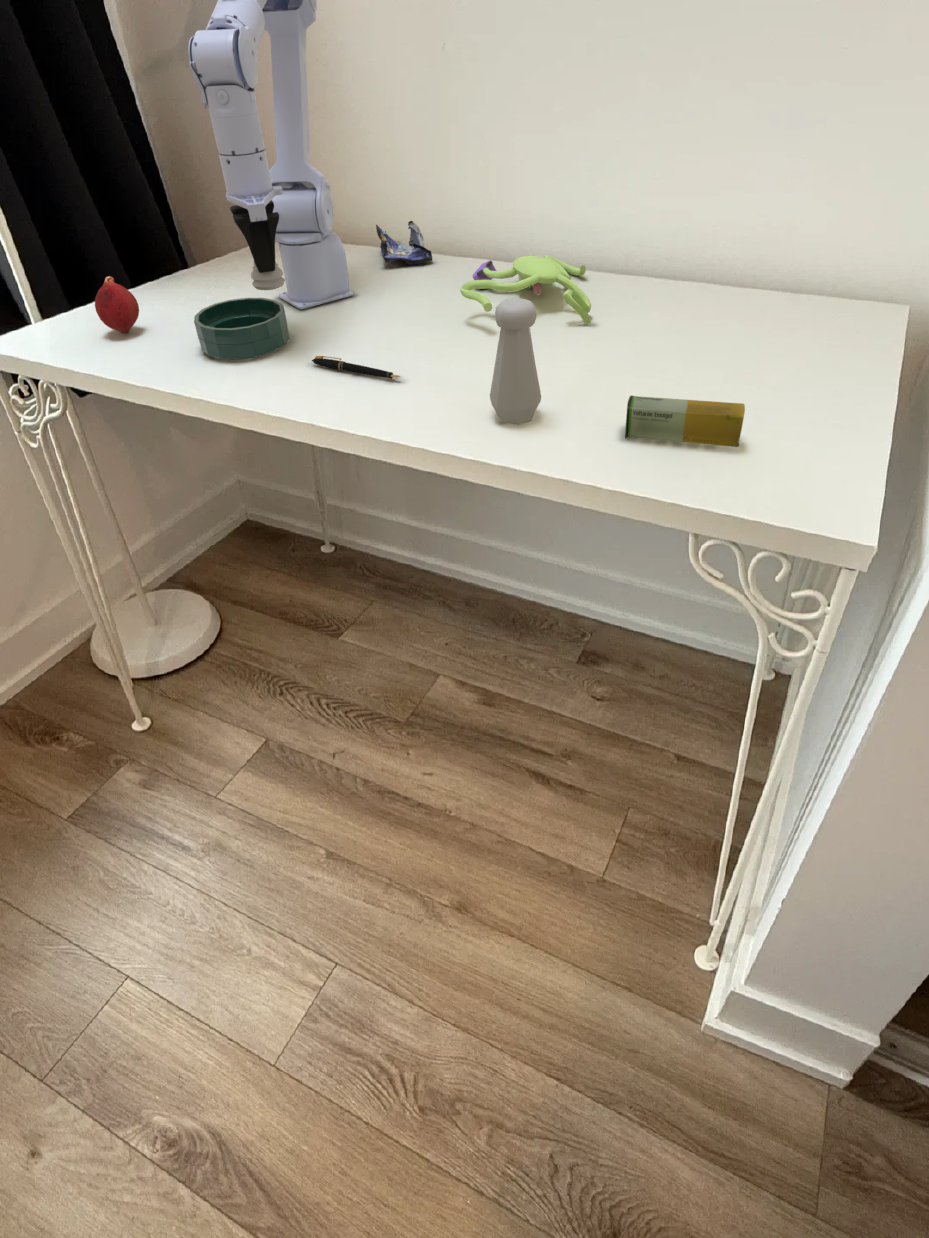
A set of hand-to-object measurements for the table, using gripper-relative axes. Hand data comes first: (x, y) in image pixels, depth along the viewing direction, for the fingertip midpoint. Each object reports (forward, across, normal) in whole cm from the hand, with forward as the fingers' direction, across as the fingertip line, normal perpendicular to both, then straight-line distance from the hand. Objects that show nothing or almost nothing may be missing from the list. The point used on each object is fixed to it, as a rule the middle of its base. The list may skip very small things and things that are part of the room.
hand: (265, 267), depth 105 cm
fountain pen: (+10, -16, -8) cm, 20 cm away
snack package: (+10, +29, -26) cm, 40 cm away
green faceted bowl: (+10, 0, +5) cm, 11 cm away
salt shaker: (+10, -35, -23) cm, 43 cm away
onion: (+10, +12, +21) cm, 27 cm away
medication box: (+10, -47, -37) cm, 61 cm away
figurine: (+10, 0, -38) cm, 39 cm away
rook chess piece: (+3, 0, 0) cm, 3 cm away
